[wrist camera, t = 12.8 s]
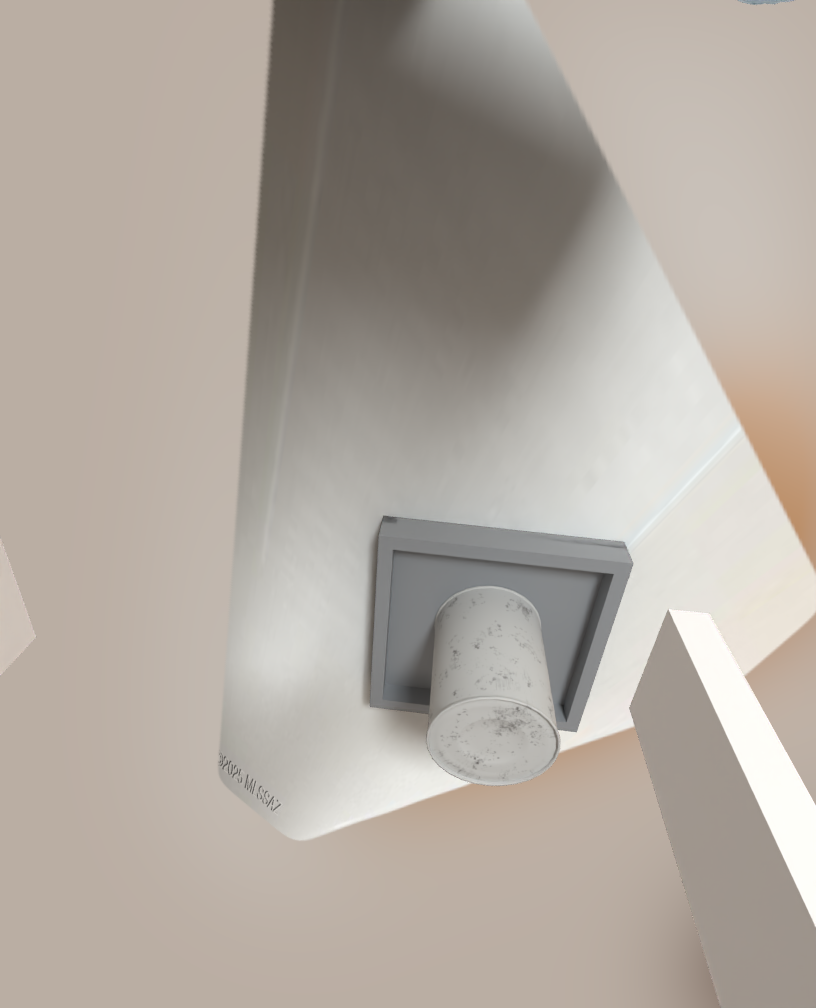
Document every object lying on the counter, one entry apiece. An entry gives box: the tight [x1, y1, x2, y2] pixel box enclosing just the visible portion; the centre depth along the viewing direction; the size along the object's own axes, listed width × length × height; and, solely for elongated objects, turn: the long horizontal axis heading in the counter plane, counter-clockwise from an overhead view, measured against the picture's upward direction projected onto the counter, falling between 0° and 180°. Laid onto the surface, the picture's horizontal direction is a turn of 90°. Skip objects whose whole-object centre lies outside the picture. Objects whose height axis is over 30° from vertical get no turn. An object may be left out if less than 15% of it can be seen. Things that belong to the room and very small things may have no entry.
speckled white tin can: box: [426, 585, 560, 786], centre depth 46 cm, size 10×10×12 cm
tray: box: [370, 516, 633, 732], centre depth 51 cm, size 20×20×3 cm
